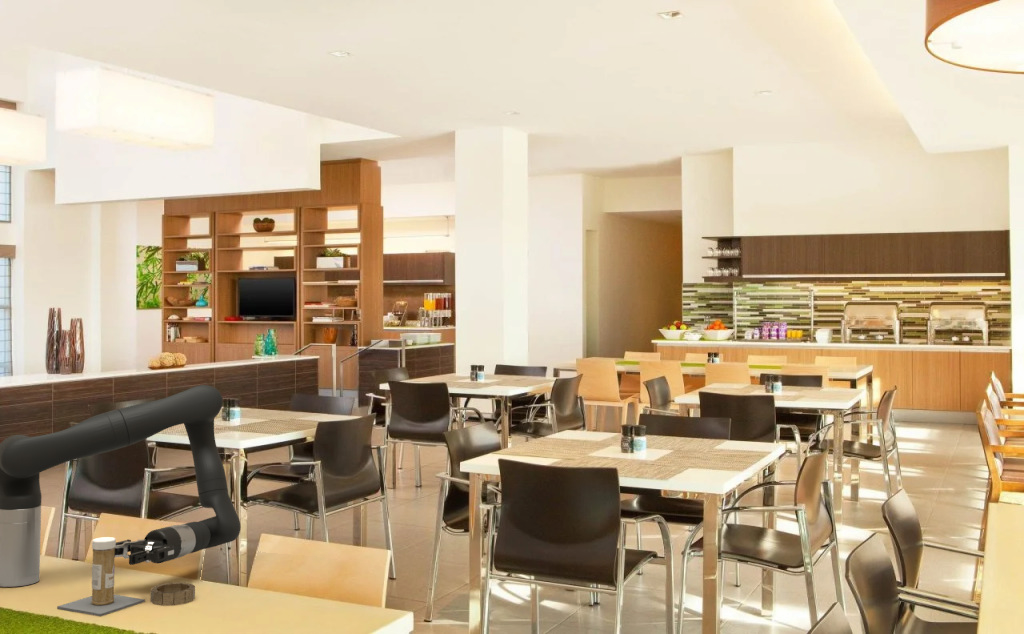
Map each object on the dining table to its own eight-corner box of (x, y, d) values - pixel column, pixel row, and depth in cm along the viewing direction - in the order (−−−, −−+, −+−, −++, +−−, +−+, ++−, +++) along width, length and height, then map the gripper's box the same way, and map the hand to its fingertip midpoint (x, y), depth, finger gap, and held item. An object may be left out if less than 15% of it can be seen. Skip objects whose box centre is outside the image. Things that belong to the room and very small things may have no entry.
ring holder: (142, 602, 206) (142, 590, 206) (171, 592, 214) (171, 580, 214) (174, 607, 203) (174, 595, 203) (203, 597, 211) (203, 585, 211)
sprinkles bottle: (116, 603, 203) (117, 539, 203) (93, 607, 200) (94, 541, 201) (111, 598, 207) (113, 535, 207) (88, 601, 204) (90, 537, 204)
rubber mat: (57, 608, 200) (57, 606, 200) (102, 594, 211) (102, 592, 211) (100, 616, 196) (100, 614, 196) (144, 601, 207) (144, 599, 207)
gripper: (146, 523, 224) (90, 536, 210) (194, 529, 219) (141, 543, 204) (145, 556, 224) (89, 571, 209) (194, 563, 219) (140, 579, 204)
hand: (115, 557), depth 207 cm, fingers open, 8 cm apart
